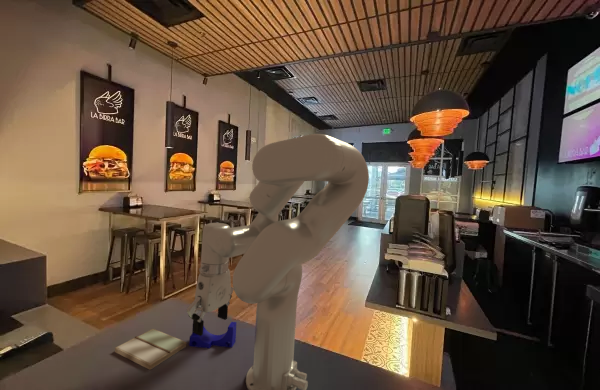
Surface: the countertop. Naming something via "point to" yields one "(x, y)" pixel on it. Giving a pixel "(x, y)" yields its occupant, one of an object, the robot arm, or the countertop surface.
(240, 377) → the countertop surface
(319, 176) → the robot arm
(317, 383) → the countertop surface
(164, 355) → the board
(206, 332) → the cable clip
